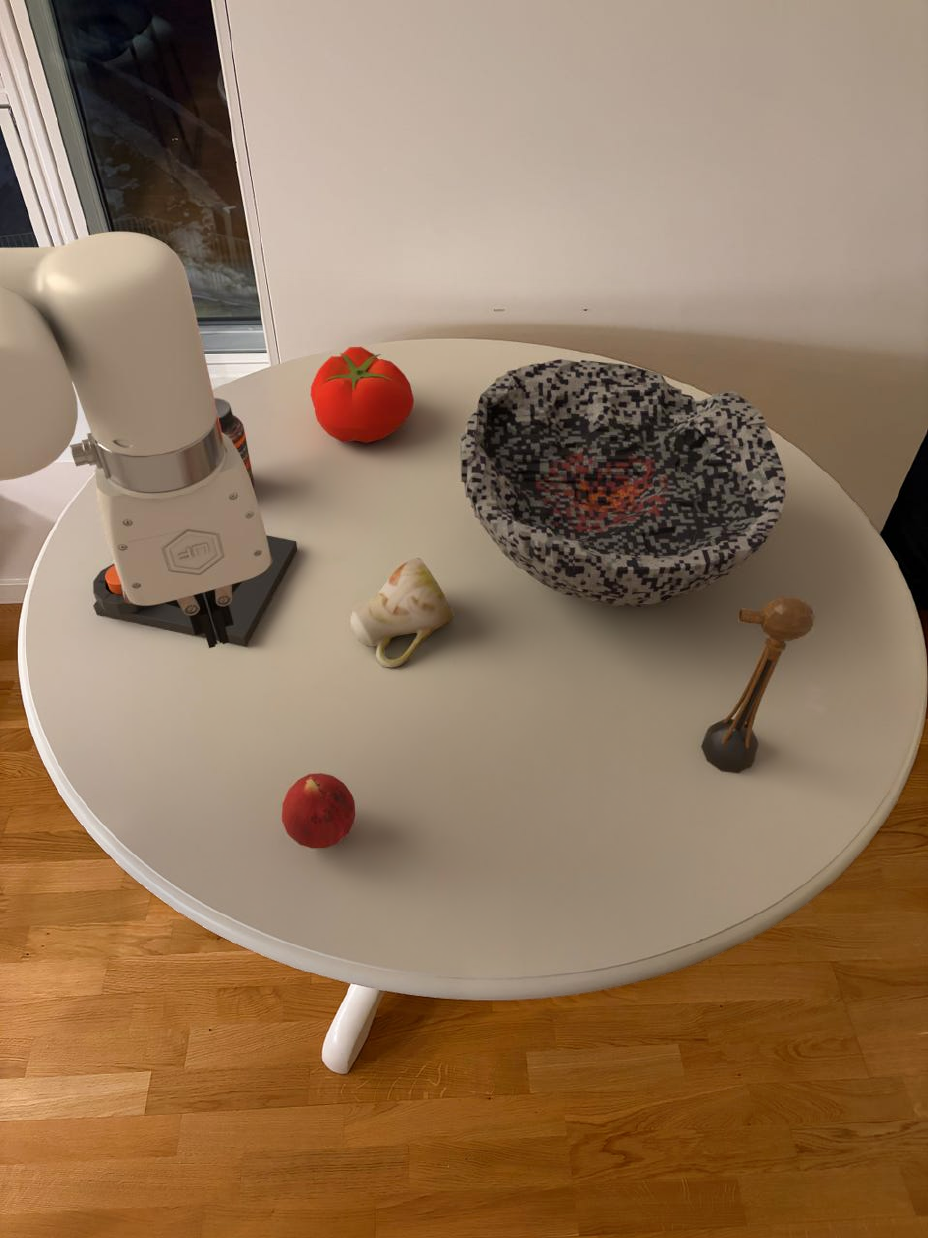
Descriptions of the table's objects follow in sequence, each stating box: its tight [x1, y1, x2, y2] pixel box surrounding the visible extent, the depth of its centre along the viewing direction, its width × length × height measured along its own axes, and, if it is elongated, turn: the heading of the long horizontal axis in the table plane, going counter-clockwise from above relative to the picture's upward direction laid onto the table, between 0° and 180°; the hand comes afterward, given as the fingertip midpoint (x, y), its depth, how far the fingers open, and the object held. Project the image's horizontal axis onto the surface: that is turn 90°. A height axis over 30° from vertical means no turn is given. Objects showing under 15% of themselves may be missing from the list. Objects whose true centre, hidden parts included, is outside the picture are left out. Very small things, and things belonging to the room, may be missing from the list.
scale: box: [92, 534, 299, 648], centre depth 92 cm, size 16×14×3 cm
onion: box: [281, 772, 357, 850], centre depth 72 cm, size 6×6×8 cm
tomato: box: [310, 346, 415, 443], centre depth 108 cm, size 13×12×8 cm
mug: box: [349, 557, 455, 668], centre depth 88 cm, size 8×10×10 cm
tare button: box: [105, 565, 123, 595], centre depth 89 cm, size 3×3×2 cm
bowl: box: [460, 358, 787, 607], centre depth 92 cm, size 31×31×15 cm
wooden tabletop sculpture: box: [700, 596, 816, 774], centre depth 74 cm, size 6×5×20 cm
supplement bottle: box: [214, 397, 255, 489], centre depth 99 cm, size 6×6×11 cm
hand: (215, 632), depth 70 cm, fingers closed
